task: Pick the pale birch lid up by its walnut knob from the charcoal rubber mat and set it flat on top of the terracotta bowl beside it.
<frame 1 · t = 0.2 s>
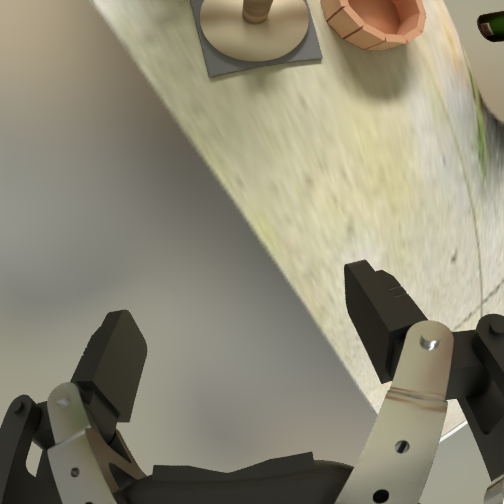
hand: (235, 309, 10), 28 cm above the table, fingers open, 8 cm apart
lid: (254, 16, 27), resting on mat
bowl: (364, 11, 26), on the table
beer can: (484, 28, 25), on the table
mat: (254, 17, 27), on the table
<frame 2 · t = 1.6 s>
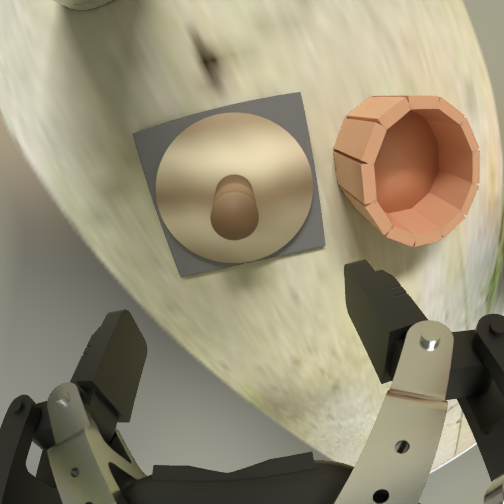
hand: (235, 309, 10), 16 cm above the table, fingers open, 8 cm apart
lid: (234, 189, 24), resting on mat
bowl: (393, 158, 24), on the table
mat: (234, 188, 25), on the table
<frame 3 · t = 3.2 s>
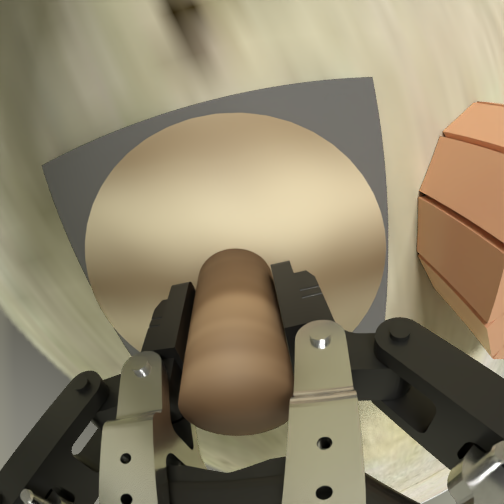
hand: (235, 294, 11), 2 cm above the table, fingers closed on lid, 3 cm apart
lid: (235, 271, 13), resting on mat, touching gripper
bowl: (493, 206, 12), on the table
mat: (235, 266, 13), on the table
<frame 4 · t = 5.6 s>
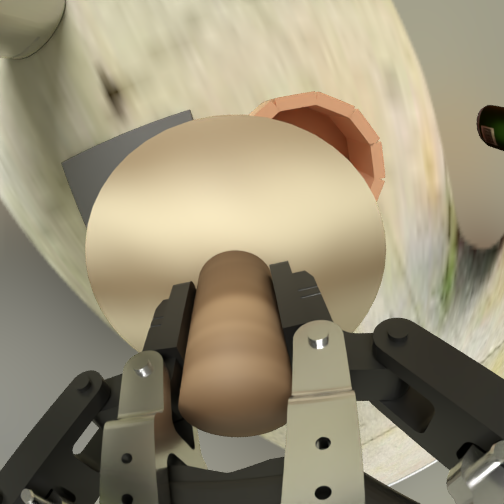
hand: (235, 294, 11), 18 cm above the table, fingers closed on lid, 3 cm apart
lid: (235, 273, 13), point 16 cm above the table, touching gripper
bowl: (295, 160, 26), on the table
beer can: (486, 124, 24), on the table
mat: (142, 202, 27), on the table
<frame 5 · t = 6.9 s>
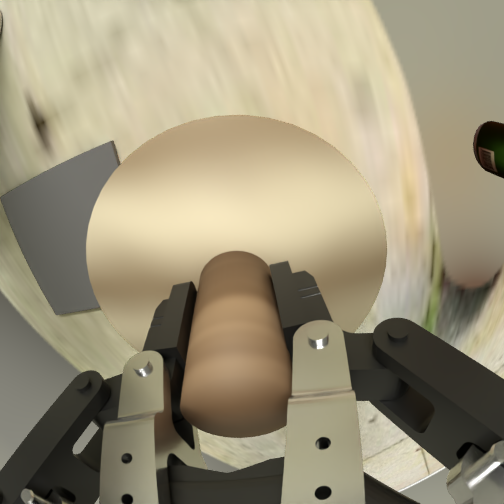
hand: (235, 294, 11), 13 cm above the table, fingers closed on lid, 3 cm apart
lid: (236, 273, 13), point 11 cm above the table, touching gripper
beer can: (485, 145, 21), on the table
mat: (75, 241, 23), on the table
when the fingers open (9 cm above the table, at t = 7.8 s): lid drops 1 cm, resting on bowl.
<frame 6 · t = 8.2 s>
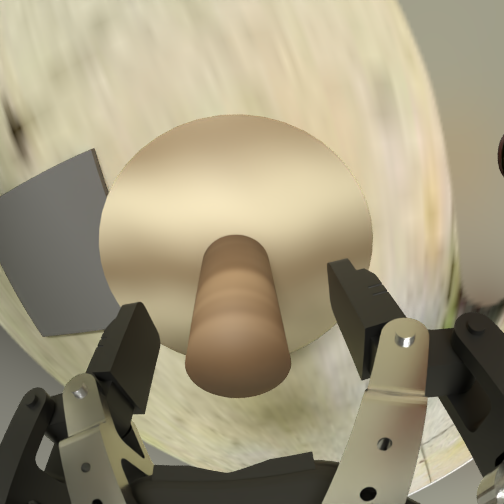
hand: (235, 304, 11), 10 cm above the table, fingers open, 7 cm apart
lid: (235, 257, 14), point 6 cm above the table, touching bowl
mat: (57, 261, 20), on the table
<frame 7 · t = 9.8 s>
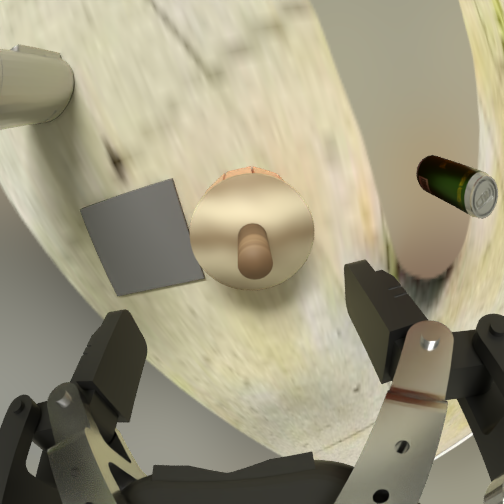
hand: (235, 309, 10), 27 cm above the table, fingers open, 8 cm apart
lid: (252, 234, 31), point 6 cm above the table, touching bowl
bowl: (249, 215, 37), on the table
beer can: (428, 172, 35), on the table
mat: (140, 242, 37), on the table
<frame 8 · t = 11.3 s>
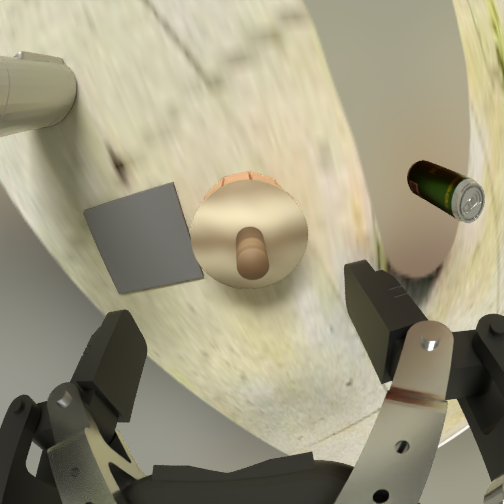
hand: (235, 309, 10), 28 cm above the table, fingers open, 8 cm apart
lid: (249, 236, 33), point 6 cm above the table, touching bowl
bowl: (247, 217, 38), on the table
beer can: (419, 176, 37), on the table
mat: (142, 242, 39), on the table
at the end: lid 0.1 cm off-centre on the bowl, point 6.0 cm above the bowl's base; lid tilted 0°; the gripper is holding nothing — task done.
